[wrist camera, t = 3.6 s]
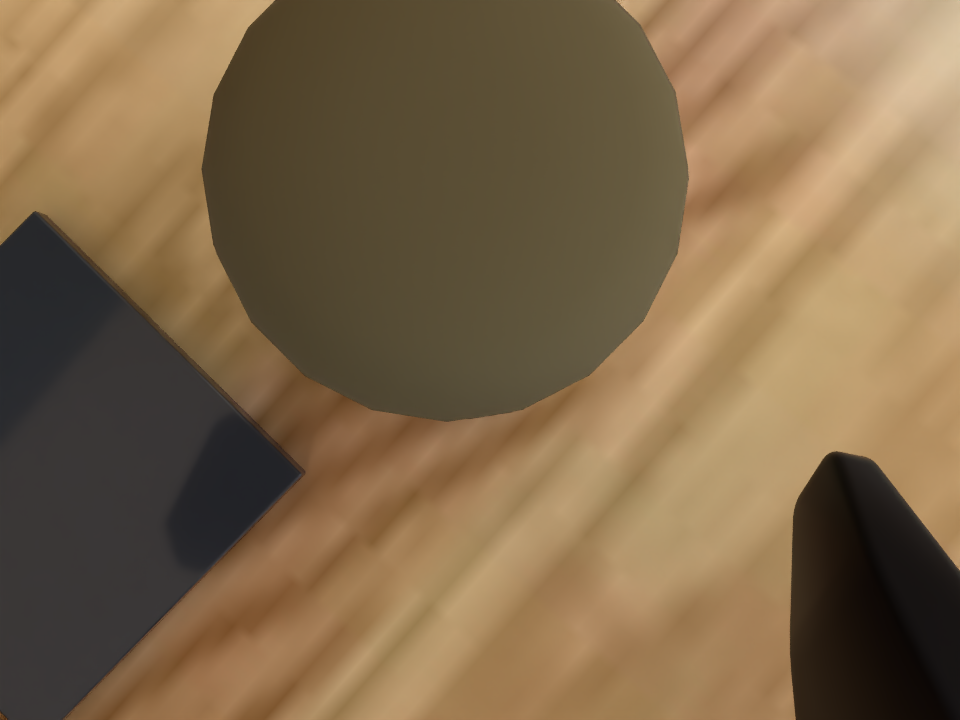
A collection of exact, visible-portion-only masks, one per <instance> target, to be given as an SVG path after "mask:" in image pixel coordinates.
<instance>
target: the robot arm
mask: <svg viewBox="0 0 960 720" xmlns="http://www.w3.org/2000/svg"><path fill="white" fill-rule="evenodd" d="M790 658H791V674H792V685H793V695H794V706H795V717H796V720H960V571H959V569H958V568H957V567H956V565H955V564H954V563H953V562H952V560H951V559H950V558H949V556H948V555H947V554H946V553H945V551H944V550H943V549H942V547H941V546H940V545H939V544H938V542H937V541H936V540H935V538H934V537H933V536H932V535H931V533H930V532H929V531H928V529H927V528H926V527H925V526H924V524H923V523H922V522H921V520H920V519H919V518H918V517H917V515H916V514H915V513H914V511H913V510H912V509H911V508H910V506H909V505H908V504H907V502H906V501H905V500H904V499H903V497H902V496H901V495H900V493H899V492H898V491H897V489H896V488H895V487H894V486H893V484H892V483H891V482H890V480H889V479H888V478H887V477H886V475H885V474H884V473H883V471H882V470H881V469H880V468H879V466H878V465H877V464H876V463H875V462H874V461H872V460H871V459H869V458H867V457H863V456H858V455H853V454H848V453H843V452H838V451H836V452H831V453H829V454H828V455H826V456H825V458H824V459H823V460H822V461H821V463H820V465H819V466H818V468H817V469H816V471H815V472H814V474H813V475H812V477H811V478H810V480H809V482H808V483H807V485H806V486H805V488H804V489H803V491H802V492H801V494H800V496H799V497H798V500H797V502H796V505H795V509H794V515H793V540H792V577H791V614H790Z"/></svg>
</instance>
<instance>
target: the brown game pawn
mask: <svg viewBox="0 0 960 720" xmlns="http://www.w3.org/2000/svg"><path fill="white" fill-rule="evenodd" d="M202 175H203V181H204V187H205V194H206V200H207V207H208V213H209V220H210V226H211V233H212V239H213V245H214V247H215V250H216V253H217V255H218V257H219V259H220V261H221V263H222V265H223V267H224V269H225V271H226V273H227V275H228V277H229V279H230V281H231V283H232V285H233V287H234V289H235V291H236V293H237V295H238V297H239V299H240V301H241V303H242V305H243V307H244V309H245V310H246V312H247V314H248V316H249V318H250V320H251V322H252V323H253V324H254V325H255V326H256V327H257V328H258V329H259V330H260V331H261V332H262V333H263V334H264V335H265V336H266V337H267V338H268V339H269V340H270V341H271V342H272V343H273V344H274V345H275V346H276V347H277V348H278V349H279V350H280V351H281V352H282V353H283V354H284V355H285V356H286V357H287V358H288V359H289V360H290V361H291V362H292V363H293V364H294V365H295V366H296V367H297V368H298V369H299V370H300V371H301V372H302V373H303V374H304V375H305V376H306V377H308V378H310V379H312V380H314V381H316V382H318V383H320V384H322V385H324V386H326V387H328V388H330V389H332V390H334V391H336V392H338V393H340V394H342V395H344V396H346V397H348V398H350V399H352V400H354V401H355V402H357V403H359V404H361V405H363V406H365V407H367V408H369V409H371V410H375V411H382V412H388V413H395V414H401V415H407V416H414V417H420V418H427V419H433V420H439V421H446V422H449V421H455V420H461V419H472V418H478V417H484V416H490V415H497V414H503V413H509V412H513V411H517V410H522V409H524V408H526V407H528V406H530V405H532V404H534V403H536V402H538V401H540V400H542V399H544V398H546V397H548V396H550V395H552V394H554V393H556V392H558V391H560V390H561V389H563V388H565V387H567V386H569V385H571V384H573V383H575V382H577V381H579V380H581V379H583V378H585V377H587V376H589V375H590V374H591V373H592V372H593V371H594V370H595V369H596V368H597V367H598V366H599V365H600V364H601V363H602V362H603V361H604V360H605V359H606V358H607V357H608V356H609V355H610V354H611V353H612V352H613V351H614V350H615V349H616V348H617V347H618V346H619V345H620V344H621V343H622V342H623V341H624V340H625V339H626V338H627V337H628V336H629V335H630V334H631V333H632V332H633V331H634V330H635V329H636V328H637V327H638V326H639V325H640V324H641V323H642V322H643V321H644V319H645V317H646V315H647V313H648V311H649V309H650V307H651V305H652V303H653V301H654V299H655V297H656V295H657V293H658V291H659V289H660V287H661V285H662V283H663V281H664V279H665V277H666V275H667V273H668V271H669V269H670V267H671V265H672V263H673V261H674V259H675V257H676V255H677V252H678V246H679V239H680V233H681V226H682V220H683V213H684V206H685V200H686V193H687V187H688V180H689V176H688V164H687V158H686V152H685V146H684V140H683V134H682V128H681V122H680V116H679V111H678V105H677V99H676V93H675V90H674V88H673V86H672V84H671V83H670V81H669V79H668V77H667V75H666V73H665V71H664V69H663V67H662V65H661V63H660V61H659V60H658V58H657V56H656V54H655V52H654V50H653V48H652V46H651V44H650V42H649V40H648V39H647V37H646V35H645V33H644V31H643V29H642V27H641V25H640V24H639V23H638V22H637V21H636V20H635V19H634V18H633V17H632V16H631V15H630V14H629V13H628V12H627V11H626V10H625V9H624V8H623V7H622V6H621V5H620V4H619V3H618V2H617V1H615V0H275V1H274V2H273V3H272V4H271V5H270V6H269V7H268V8H267V9H266V10H265V11H264V12H263V13H262V14H261V15H260V16H259V17H258V18H257V19H256V20H255V21H254V22H253V23H252V24H251V25H250V26H249V27H248V29H247V31H246V33H245V35H244V37H243V39H242V41H241V43H240V44H239V46H238V48H237V50H236V52H235V54H234V56H233V58H232V60H231V62H230V64H229V66H228V68H227V70H226V72H225V74H224V76H223V78H222V80H221V82H220V83H219V85H218V87H217V89H216V91H215V93H214V96H213V102H212V109H211V115H210V121H209V127H208V133H207V139H206V146H205V152H204V158H203V164H202Z"/></svg>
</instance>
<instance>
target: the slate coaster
mask: <svg viewBox="0 0 960 720" xmlns="http://www.w3.org/2000/svg"><path fill="white" fill-rule="evenodd" d="M305 473H306V472H305V470H304V469H303V468H302V467H301V466H300V465H299V464H298V463H297V462H296V461H295V460H294V459H293V458H292V457H291V456H290V455H289V454H288V453H287V452H286V451H284V450H283V449H282V448H281V447H280V446H279V445H278V444H277V443H276V442H275V441H274V440H273V439H272V438H271V437H270V436H269V435H268V434H267V433H266V432H265V431H264V430H263V429H262V428H261V427H260V426H259V425H258V424H257V423H256V422H255V421H254V420H253V419H252V418H251V417H250V416H249V415H248V414H247V413H246V412H245V411H244V410H243V409H242V408H241V407H240V406H239V405H238V404H237V403H236V402H235V401H234V400H233V399H232V398H231V397H230V396H229V395H228V394H227V393H226V392H225V391H224V390H223V389H222V388H221V387H220V386H219V385H218V384H217V383H216V382H215V381H214V380H213V379H212V378H211V377H210V376H209V375H208V374H207V373H206V372H205V371H204V370H203V369H202V368H201V367H200V366H199V365H197V364H196V363H195V362H194V361H193V360H192V359H191V358H190V357H189V356H188V355H187V354H186V353H185V352H184V351H183V350H182V349H181V348H180V347H179V346H178V345H177V344H176V343H175V342H174V341H173V340H172V339H171V338H170V337H169V336H168V335H167V334H166V333H165V332H164V331H163V330H162V329H161V328H160V327H159V326H158V325H157V324H156V323H155V322H154V321H153V320H152V319H151V318H150V317H149V316H148V315H147V314H146V313H145V312H144V311H143V310H142V309H141V308H140V307H139V306H138V305H137V304H136V303H135V302H134V301H133V300H132V299H131V298H130V297H129V296H128V295H127V294H126V293H125V292H124V291H123V290H122V289H121V288H120V287H119V286H118V285H117V284H116V283H115V282H114V281H113V280H112V279H111V278H109V277H108V276H107V275H106V274H105V273H104V272H103V271H102V270H101V269H100V268H99V267H98V266H97V265H96V264H95V263H94V262H93V261H92V260H91V259H90V258H89V257H88V256H87V255H86V254H85V253H84V252H83V251H82V250H81V249H80V248H79V247H78V246H77V245H76V244H75V243H74V242H73V241H72V240H71V239H70V238H69V237H68V236H67V235H66V234H65V233H64V232H63V231H62V230H61V229H60V228H59V227H58V226H57V225H56V224H55V223H54V222H53V221H52V220H51V219H50V218H49V217H48V216H47V215H45V214H42V213H39V212H36V211H35V212H33V213H32V214H31V215H30V216H29V217H28V218H27V219H26V220H25V221H24V222H23V223H22V224H21V225H20V226H19V227H18V228H17V229H16V230H15V231H14V232H13V233H12V234H11V235H10V236H9V237H8V238H7V239H6V240H5V241H4V242H3V243H2V244H1V245H0V712H1V713H2V714H3V715H4V716H5V717H6V718H7V719H8V720H65V719H66V718H67V717H68V716H69V715H70V714H71V713H72V712H73V711H74V709H75V708H76V707H77V706H78V705H79V704H80V703H81V702H82V701H83V700H84V699H85V698H86V697H87V696H88V695H89V694H90V693H91V692H92V691H93V690H94V689H95V688H96V687H97V686H98V685H99V684H100V683H101V682H102V681H103V680H104V679H105V678H106V677H107V676H108V675H109V674H110V673H111V672H112V671H113V670H114V669H115V668H116V667H117V666H118V665H119V664H120V663H121V662H122V661H123V660H124V658H125V657H126V656H127V655H128V654H129V653H130V652H131V651H132V650H133V649H134V648H135V647H136V646H137V645H138V644H139V643H140V642H141V641H142V640H143V639H144V638H145V637H146V636H147V635H148V634H149V633H150V632H151V631H152V630H153V629H154V628H155V627H156V626H157V625H158V624H159V623H160V622H161V621H162V620H163V619H164V618H165V617H166V616H167V615H168V614H169V613H170V612H171V611H172V610H173V609H174V607H175V606H176V605H177V604H178V603H179V602H180V601H181V600H182V599H183V598H184V597H185V596H186V595H187V594H188V593H189V592H190V591H191V590H192V589H193V588H194V587H195V586H196V585H197V584H198V583H199V582H200V581H201V580H202V579H203V578H204V577H205V576H206V575H207V574H208V573H209V572H210V571H211V570H212V569H213V568H214V567H215V566H216V565H217V564H218V563H219V562H220V561H221V560H222V559H223V558H224V556H225V555H226V554H227V553H228V552H229V551H230V550H231V549H232V548H233V547H234V546H235V545H236V544H237V543H238V542H239V541H240V540H241V539H242V538H243V537H244V536H245V535H246V534H247V533H248V532H249V531H250V530H251V529H252V528H253V527H254V526H255V525H256V524H257V523H258V522H259V521H260V520H261V519H262V518H263V517H264V516H265V515H266V514H267V513H268V512H269V511H270V510H271V509H272V508H273V507H274V505H275V504H276V503H277V502H278V501H279V500H280V499H281V498H282V497H283V496H284V495H285V494H286V493H287V492H288V491H289V490H290V489H291V488H292V487H293V486H294V485H295V484H296V483H297V482H298V481H299V480H300V479H301V478H302V477H303V476H304V475H305Z"/></svg>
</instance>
